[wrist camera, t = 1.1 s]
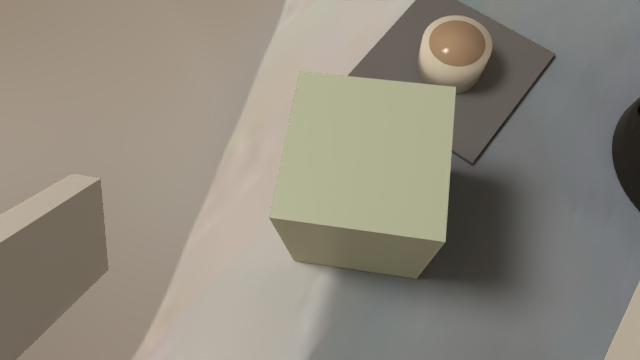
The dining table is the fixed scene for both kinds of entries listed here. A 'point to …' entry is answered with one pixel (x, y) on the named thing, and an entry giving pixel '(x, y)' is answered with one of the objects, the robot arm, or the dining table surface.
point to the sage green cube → (365, 173)
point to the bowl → (454, 52)
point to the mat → (490, 91)
